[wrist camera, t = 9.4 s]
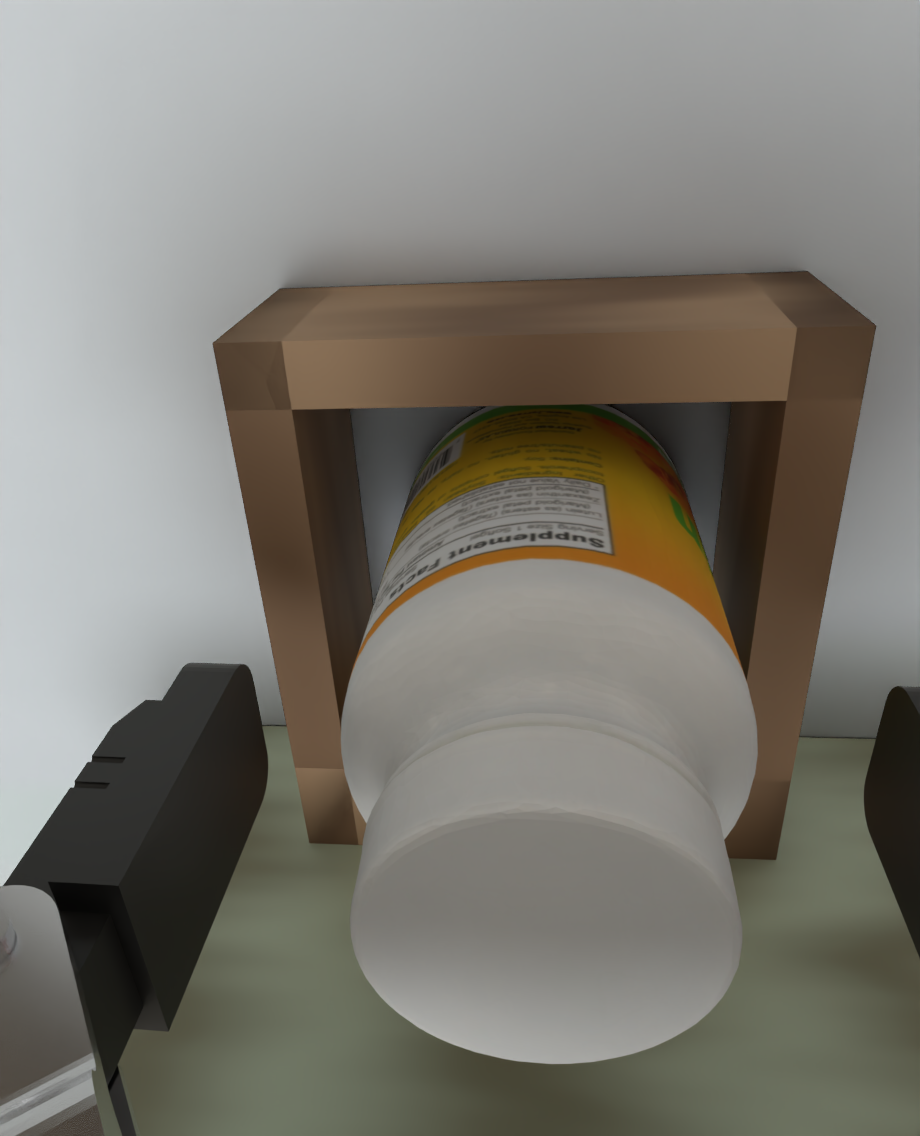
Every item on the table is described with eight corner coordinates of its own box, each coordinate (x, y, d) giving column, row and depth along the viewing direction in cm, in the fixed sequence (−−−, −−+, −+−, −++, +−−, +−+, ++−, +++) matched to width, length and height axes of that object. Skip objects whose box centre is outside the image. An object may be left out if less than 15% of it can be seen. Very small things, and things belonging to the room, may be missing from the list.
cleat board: (1099, 261, 14) (2000, 581, 5) (938, 791, 20) (1243, 1362, 11) (39, 296, 16) (-583, 574, 7) (174, 770, 21) (-80, 1243, 13)
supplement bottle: (693, 616, 18) (822, 1101, 10) (440, 644, 19) (354, 1108, 10) (674, 363, 15) (827, 723, 7) (381, 410, 16) (205, 778, 8)
